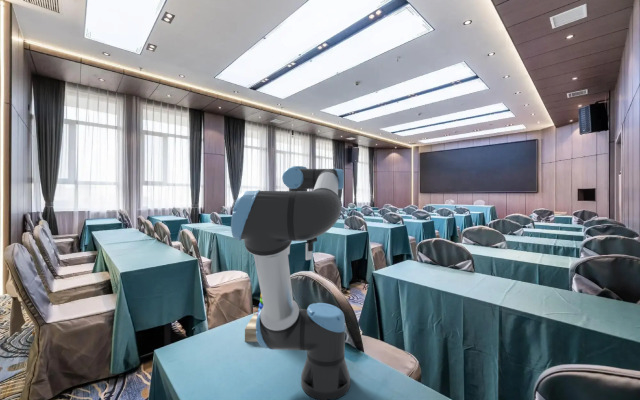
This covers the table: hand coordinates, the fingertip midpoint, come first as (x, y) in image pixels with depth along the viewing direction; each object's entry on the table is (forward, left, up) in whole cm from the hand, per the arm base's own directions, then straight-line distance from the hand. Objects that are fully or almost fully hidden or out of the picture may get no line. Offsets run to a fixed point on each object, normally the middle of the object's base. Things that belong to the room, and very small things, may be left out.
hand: (297, 257), depth 112 cm
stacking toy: (+3, +13, -28) cm, 31 cm away
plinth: (+4, +13, -33) cm, 36 cm away
